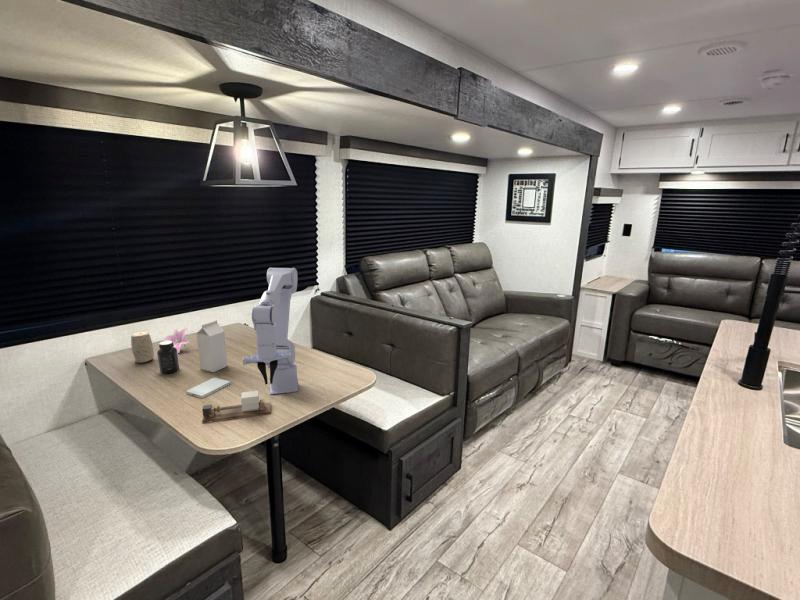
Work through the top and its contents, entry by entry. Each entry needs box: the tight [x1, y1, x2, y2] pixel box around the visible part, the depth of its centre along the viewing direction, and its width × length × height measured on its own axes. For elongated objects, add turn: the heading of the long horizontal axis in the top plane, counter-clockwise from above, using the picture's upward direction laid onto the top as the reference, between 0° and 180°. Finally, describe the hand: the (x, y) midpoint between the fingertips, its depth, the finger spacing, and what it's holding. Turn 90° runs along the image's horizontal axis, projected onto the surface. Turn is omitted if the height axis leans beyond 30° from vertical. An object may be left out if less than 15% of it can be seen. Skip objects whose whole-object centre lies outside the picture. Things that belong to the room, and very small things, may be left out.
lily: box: [163, 327, 190, 354], centre depth 184 cm, size 12×12×10 cm
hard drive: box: [184, 377, 231, 399], centre depth 149 cm, size 2×8×12 cm
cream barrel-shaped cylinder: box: [130, 331, 155, 364], centre depth 170 cm, size 6×8×12 cm
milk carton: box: [196, 319, 228, 373], centre depth 164 cm, size 7×7×19 cm
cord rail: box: [201, 399, 272, 423], centre depth 132 cm, size 20×6×4 cm, turn 108°
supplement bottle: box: [156, 340, 180, 375], centre depth 161 cm, size 7×7×12 cm
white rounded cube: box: [240, 390, 260, 412], centre depth 133 cm, size 5×4×5 cm
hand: (268, 382), depth 133 cm, fingers closed
